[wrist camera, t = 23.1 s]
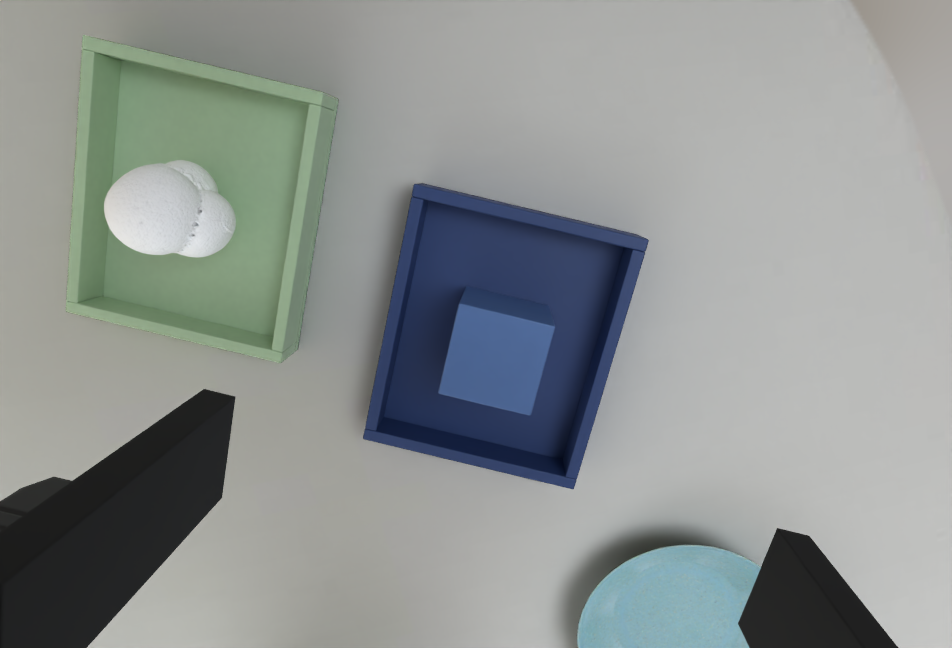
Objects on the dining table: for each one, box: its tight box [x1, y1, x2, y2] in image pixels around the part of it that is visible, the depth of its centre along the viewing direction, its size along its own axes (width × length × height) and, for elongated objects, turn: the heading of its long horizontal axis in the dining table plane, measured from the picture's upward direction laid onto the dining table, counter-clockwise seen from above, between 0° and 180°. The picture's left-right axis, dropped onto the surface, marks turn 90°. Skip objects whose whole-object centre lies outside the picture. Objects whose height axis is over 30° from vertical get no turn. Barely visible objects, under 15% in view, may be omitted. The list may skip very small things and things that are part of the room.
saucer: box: [577, 544, 761, 648], centre depth 34 cm, size 12×12×2 cm
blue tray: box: [363, 183, 648, 489], centre depth 31 cm, size 13×11×2 cm
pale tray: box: [66, 35, 338, 363], centre depth 30 cm, size 13×11×2 cm
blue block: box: [438, 286, 555, 415], centre depth 29 cm, size 4×4×4 cm
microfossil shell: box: [104, 160, 236, 258], centre depth 28 cm, size 4×5×6 cm
